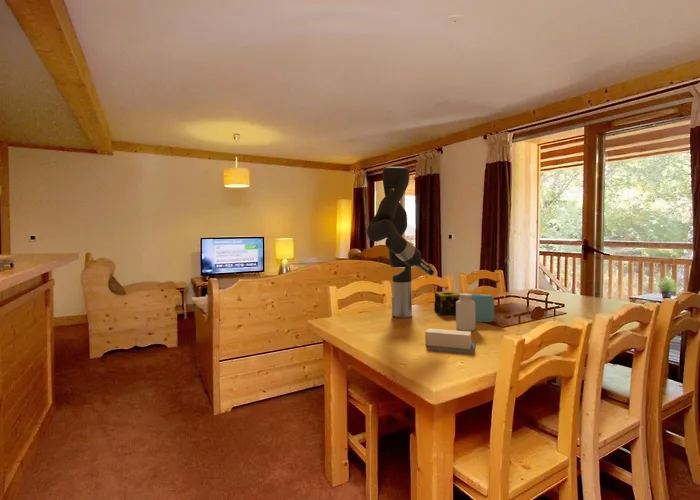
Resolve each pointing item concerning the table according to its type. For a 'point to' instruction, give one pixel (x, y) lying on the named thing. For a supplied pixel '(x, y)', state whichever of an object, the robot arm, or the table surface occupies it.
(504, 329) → the table surface
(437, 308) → the black and yellow cube
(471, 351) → the mat
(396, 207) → the robot arm
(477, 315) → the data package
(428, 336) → the cream pillar
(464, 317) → the pill bottle
